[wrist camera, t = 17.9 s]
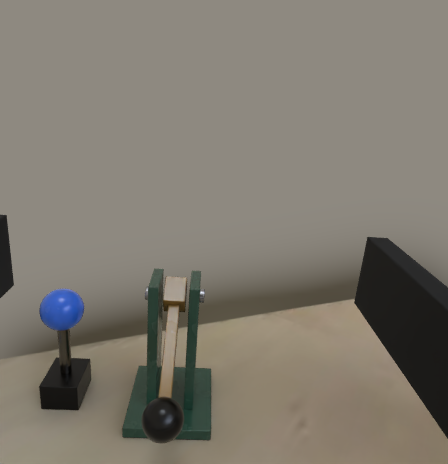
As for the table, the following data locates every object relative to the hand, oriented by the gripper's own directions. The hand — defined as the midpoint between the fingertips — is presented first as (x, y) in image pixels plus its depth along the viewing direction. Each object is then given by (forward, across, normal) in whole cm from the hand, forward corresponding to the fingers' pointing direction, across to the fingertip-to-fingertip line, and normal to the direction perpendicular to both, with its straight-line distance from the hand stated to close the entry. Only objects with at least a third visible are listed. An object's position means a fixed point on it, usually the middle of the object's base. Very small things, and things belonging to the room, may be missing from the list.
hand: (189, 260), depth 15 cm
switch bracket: (+24, -2, -28) cm, 37 cm away
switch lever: (+20, -2, -19) cm, 27 cm away
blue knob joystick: (+25, -14, -28) cm, 40 cm away
